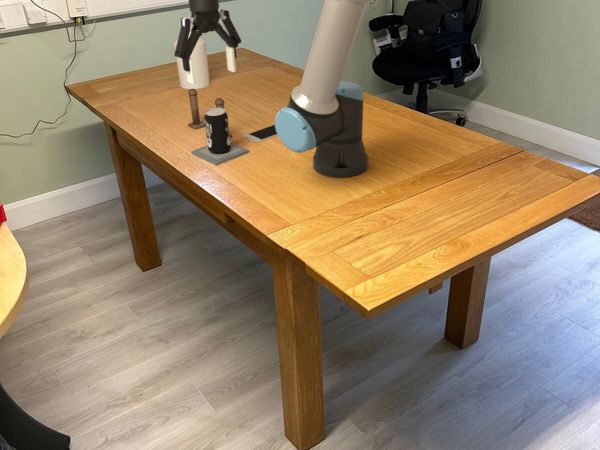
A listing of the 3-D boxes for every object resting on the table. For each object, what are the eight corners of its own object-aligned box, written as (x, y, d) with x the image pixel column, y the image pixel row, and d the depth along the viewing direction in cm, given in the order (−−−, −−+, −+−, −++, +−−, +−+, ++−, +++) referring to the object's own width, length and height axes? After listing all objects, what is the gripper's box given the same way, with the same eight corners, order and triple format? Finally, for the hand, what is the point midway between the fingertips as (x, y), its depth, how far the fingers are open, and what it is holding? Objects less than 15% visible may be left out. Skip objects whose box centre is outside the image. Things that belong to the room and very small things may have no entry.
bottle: (207, 88, 224) (199, 21, 212) (177, 89, 225) (167, 22, 212) (212, 79, 235) (204, 14, 222) (182, 80, 235) (173, 15, 222)
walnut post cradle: (232, 137, 182) (228, 97, 175) (222, 141, 179) (217, 101, 173) (198, 123, 193) (193, 85, 187) (188, 126, 191) (183, 88, 184)
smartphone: (243, 138, 182) (242, 135, 181) (280, 124, 191) (280, 121, 190) (257, 144, 177) (257, 141, 177) (295, 130, 186) (295, 127, 185)
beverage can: (226, 155, 167) (222, 115, 161) (205, 154, 169) (200, 114, 162) (234, 146, 173) (230, 107, 167) (213, 145, 174) (208, 106, 168)
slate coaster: (249, 152, 171) (249, 149, 171) (216, 165, 164) (216, 162, 164) (224, 141, 179) (223, 139, 178) (191, 153, 172) (191, 151, 171)
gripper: (232, -14, 159) (239, 64, 169) (152, 0, 144) (165, 84, 155) (249, -12, 154) (256, 68, 165) (169, 3, 139) (182, 90, 150)
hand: (212, 76), depth 160 cm, fingers open, 13 cm apart
